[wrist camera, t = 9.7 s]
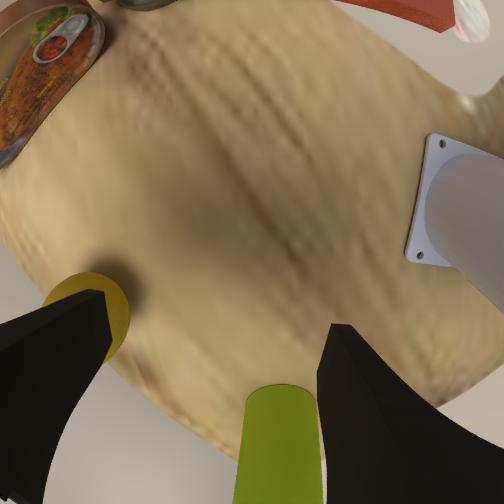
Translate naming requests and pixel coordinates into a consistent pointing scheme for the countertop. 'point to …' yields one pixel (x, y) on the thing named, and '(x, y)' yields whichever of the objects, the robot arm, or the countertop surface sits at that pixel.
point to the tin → (41, 62)
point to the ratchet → (394, 3)
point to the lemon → (114, 302)
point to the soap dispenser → (279, 449)
